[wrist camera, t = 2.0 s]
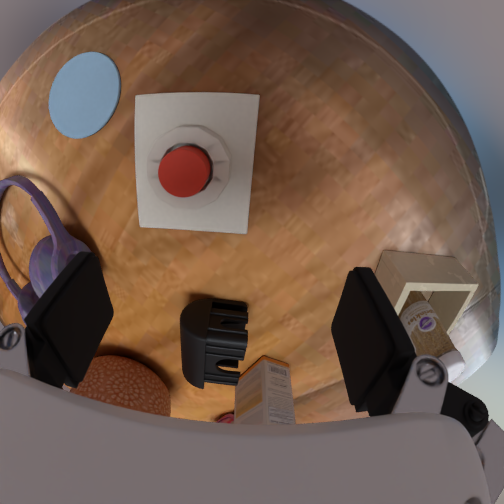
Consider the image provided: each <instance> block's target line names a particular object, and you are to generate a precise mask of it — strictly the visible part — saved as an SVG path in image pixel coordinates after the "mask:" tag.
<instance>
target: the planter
mask: <svg viewBox="0 0 504 504" xmlns="http://www.w3.org/2000/svg"><path fill="white" fill-rule="evenodd" d="M70 392H71V393H74V394H77V395H80V396H83V397H86V398H90V399H93V400H96V401H100V402H103V403H107V404H111V405H114V406H118V407H123V408H127V409H131V410H136V411H140V412H145V413H150V414H155V415H161V416H167V417H170V413H171V400H170V395H169V392H168V390H167V387H166V386H165V384H164V383H163V381H162V380H161V379H160V378H159V377H158V376H157V375H156V374H155V373H154V372H153V371H152V370H151V369H149V368H148V367H147V366H145V365H143V364H142V363H140V362H138V361H135V360H133V359H130V358H127V357H123V356H118V355H105V356H99V357H96V358H94V359H92V361H91V364H90V366H89V368H88V370H87V373H86V375H85V377H84V379H83V381H82V382H79V384H78V387H77V389H76V388H73V387H72V388H71V390H70Z"/></svg>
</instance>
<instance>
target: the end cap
mask: <svg viewBox="0 0 504 504" xmlns="http://www.w3.org/2000/svg"><path fill="white" fill-rule="evenodd" d="M247 308H248V307H247V304H246V303H244V302H237V301H230V300H222V299H202V300H197V301H194V302H192V303H190V304H188V305H187V306H186V307H185V308H184V309H183V311H182V313H181V315H180V336H181V356H182V370H183V374H184V377H185V378H186V380H187V381H188V382H189V383H190V384H192V385H193V386H195V387H198V388H201V389H204V382H208V383H216V384H224V385H234V386H237V385H238V381H239V377H240V372H237V371H227V370H223V369H221V368H219V367H218V366H222V367H231V368H238V360H242V361H243V360H244V356H245V352H246V347H247V341H248V330H245V325H246V324H247V323H248V312H247Z"/></svg>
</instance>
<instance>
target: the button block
mask: <svg viewBox="0 0 504 504" xmlns="http://www.w3.org/2000/svg"><path fill="white" fill-rule="evenodd" d="M259 98H260V95H256V94H242V93H222V92H178V93H158V94H145V95H136V97H135V169H136V188H137V202H138V213H139V224H140V227H149V228H166V229H181V230H196V231H211V232H224V233H238V234H247V228H248V217H249V205H250V194H251V183H252V172H253V162H254V151H255V140H256V129H257V119H258V109H259ZM181 146H193V147H196V148H198V149H200V150H201V151H202V152H204V153H205V155H206V156H207V158H208V160H209V163H210V174H209V177H208V179H207V181H206V183H205V185H204V186H203V188H202V189H201V190H200V191H199V192H198V193H197V194H195V195H193V196H190V197H185V198H182V197H176V196H173V195H171V194H169V193H168V192H167V191H166V190H165V189H164V188H163V187H162V185H161V183H160V181H159V177H158V169H159V165H160V162H161V161H162V159H163V158H164V157H165V156H166V155H167V154H168V153H170V152H171V151H173V150H174V149H176V148H178V147H181Z"/></svg>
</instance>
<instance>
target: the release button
mask: <svg viewBox="0 0 504 504" xmlns="http://www.w3.org/2000/svg"><path fill="white" fill-rule="evenodd" d="M209 174H210V163H209V160H208V158H207V156H206V155H205V153H204V152H202V151H201V150H200V149H198V148H196V147H193V146H181V147H178V148H176V149H174V150H173V151H171V152H170V153H168V154H167V155H166V156H165V157H164V158H163V159H162V161H161V162H160V165H159V169H158V177H159V181H160V183H161V185H162V187H163V188H164V189H165V190H166V191H167V192H168V193H169V194H171V195H173V196H176V197H182V198H185V197H190V196H193V195H195V194H197V193H198V192H199V191H200V190H201V189H202V188H203V186H204V185H205V183H206V181H207V179H208V177H209Z"/></svg>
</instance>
